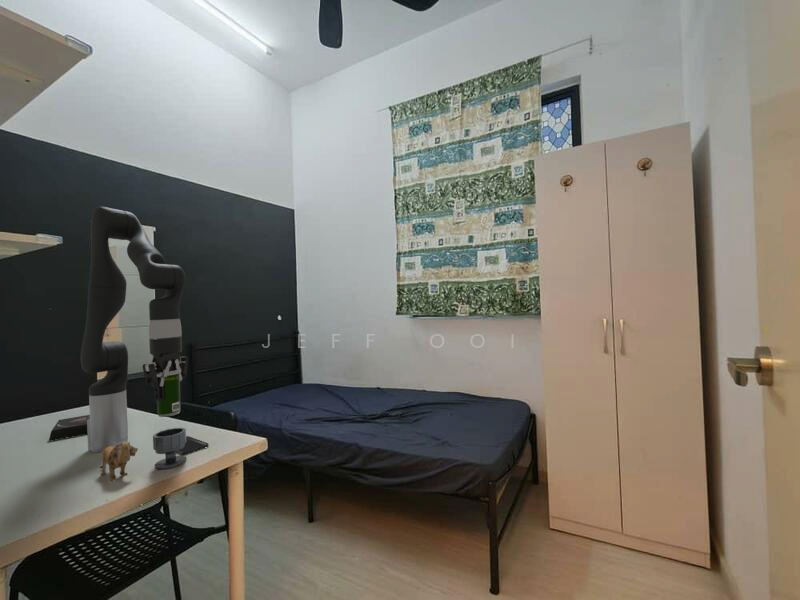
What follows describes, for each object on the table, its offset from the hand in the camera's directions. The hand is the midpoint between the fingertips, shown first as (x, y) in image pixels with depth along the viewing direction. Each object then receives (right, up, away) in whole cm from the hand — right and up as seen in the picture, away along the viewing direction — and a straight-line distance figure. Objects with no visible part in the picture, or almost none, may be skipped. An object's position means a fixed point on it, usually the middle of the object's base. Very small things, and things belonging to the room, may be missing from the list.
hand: (168, 397), depth 99 cm
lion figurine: (-10, -19, -5) cm, 22 cm away
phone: (-3, -19, +12) cm, 23 cm away
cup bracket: (+1, -18, 0) cm, 18 cm away
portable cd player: (-54, -22, +35) cm, 68 cm away
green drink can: (0, -5, 0) cm, 5 cm away
